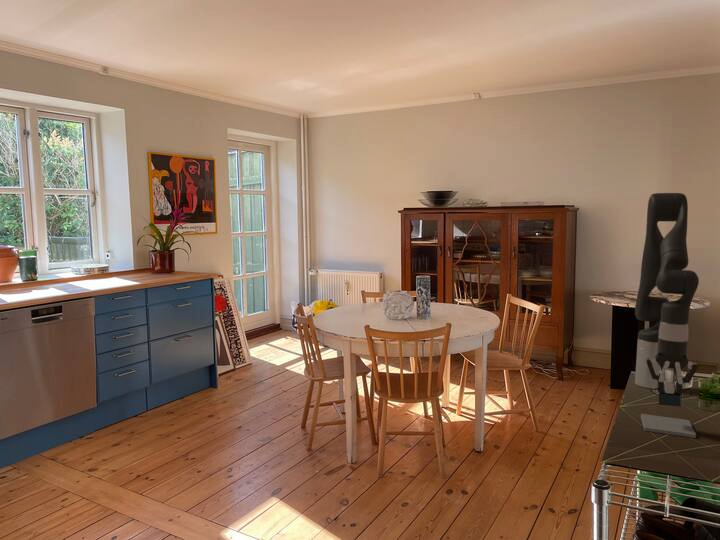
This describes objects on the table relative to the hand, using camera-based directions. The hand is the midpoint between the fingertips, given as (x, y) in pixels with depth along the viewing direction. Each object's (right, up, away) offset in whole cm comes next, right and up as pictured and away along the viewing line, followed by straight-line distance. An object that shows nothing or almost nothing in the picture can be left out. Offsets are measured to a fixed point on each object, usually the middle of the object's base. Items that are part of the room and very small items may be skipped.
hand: (669, 394), depth 161 cm
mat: (0, -10, +1) cm, 10 cm away
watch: (0, -3, 0) cm, 3 cm away
